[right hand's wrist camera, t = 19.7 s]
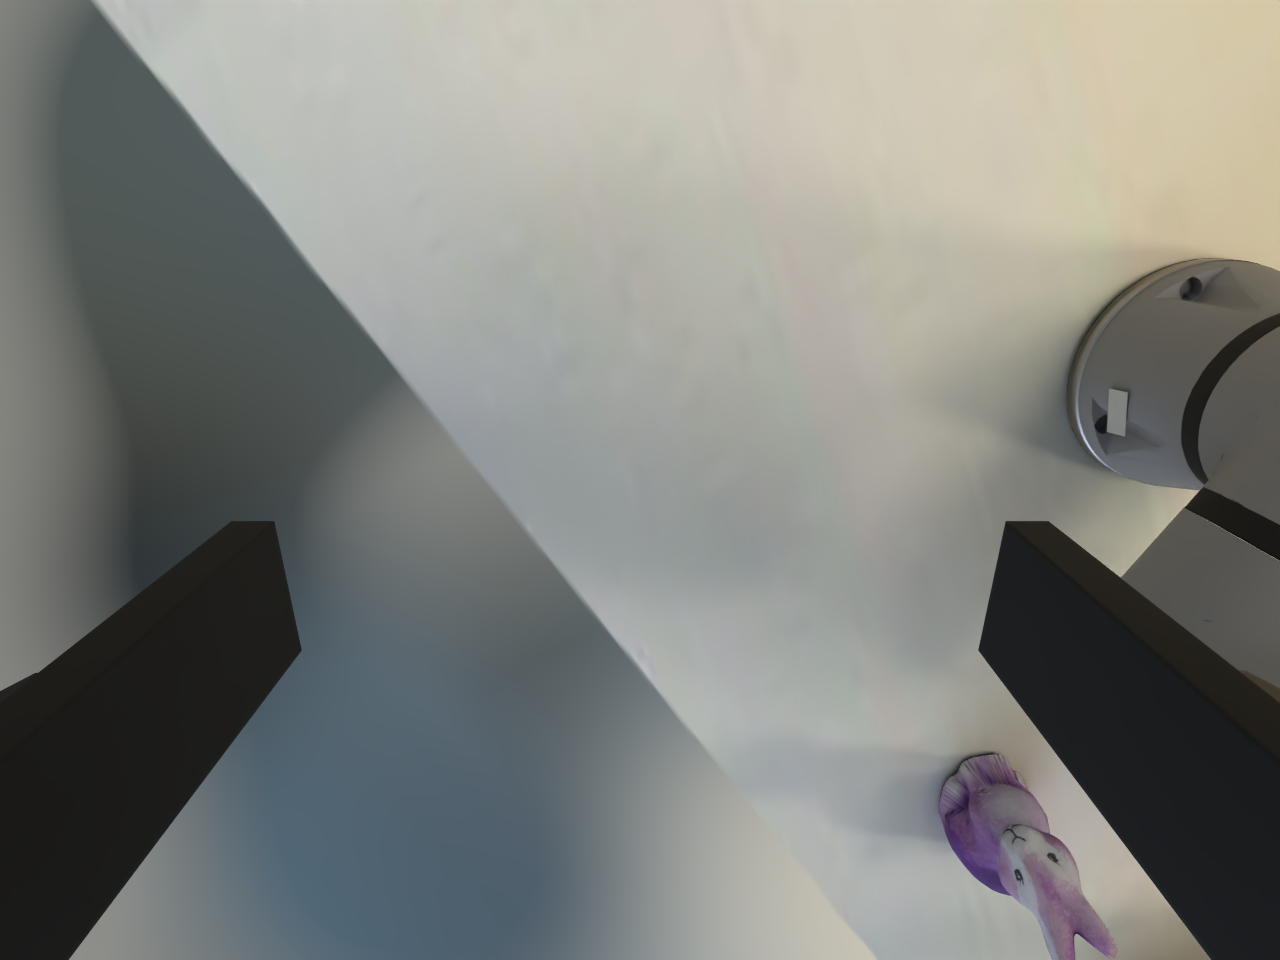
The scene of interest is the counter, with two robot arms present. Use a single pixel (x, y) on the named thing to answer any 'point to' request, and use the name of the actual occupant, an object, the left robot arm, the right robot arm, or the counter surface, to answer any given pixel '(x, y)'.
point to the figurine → (1019, 852)
